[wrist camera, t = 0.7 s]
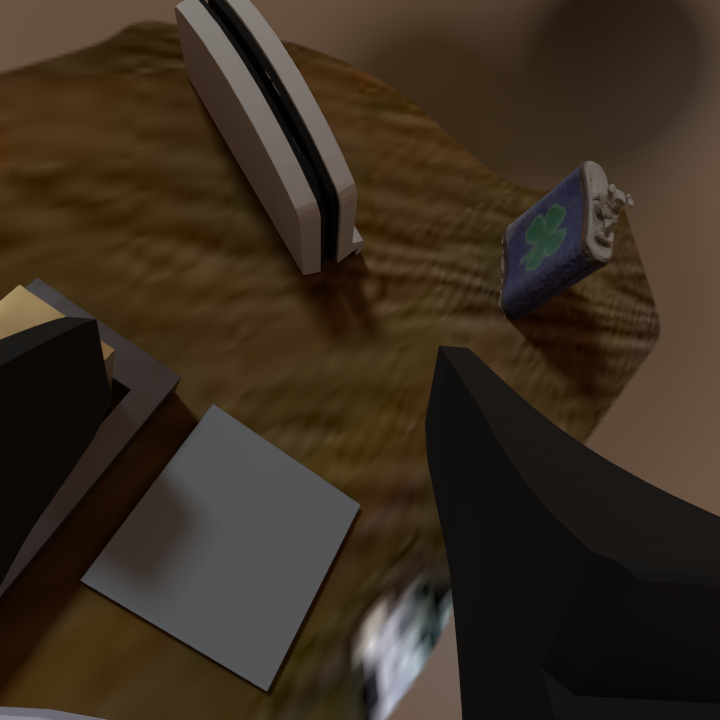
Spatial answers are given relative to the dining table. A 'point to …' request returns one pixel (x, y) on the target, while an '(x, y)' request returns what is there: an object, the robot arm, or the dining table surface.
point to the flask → (559, 240)
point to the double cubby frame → (114, 437)
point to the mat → (227, 547)
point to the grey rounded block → (271, 127)
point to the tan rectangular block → (37, 320)
